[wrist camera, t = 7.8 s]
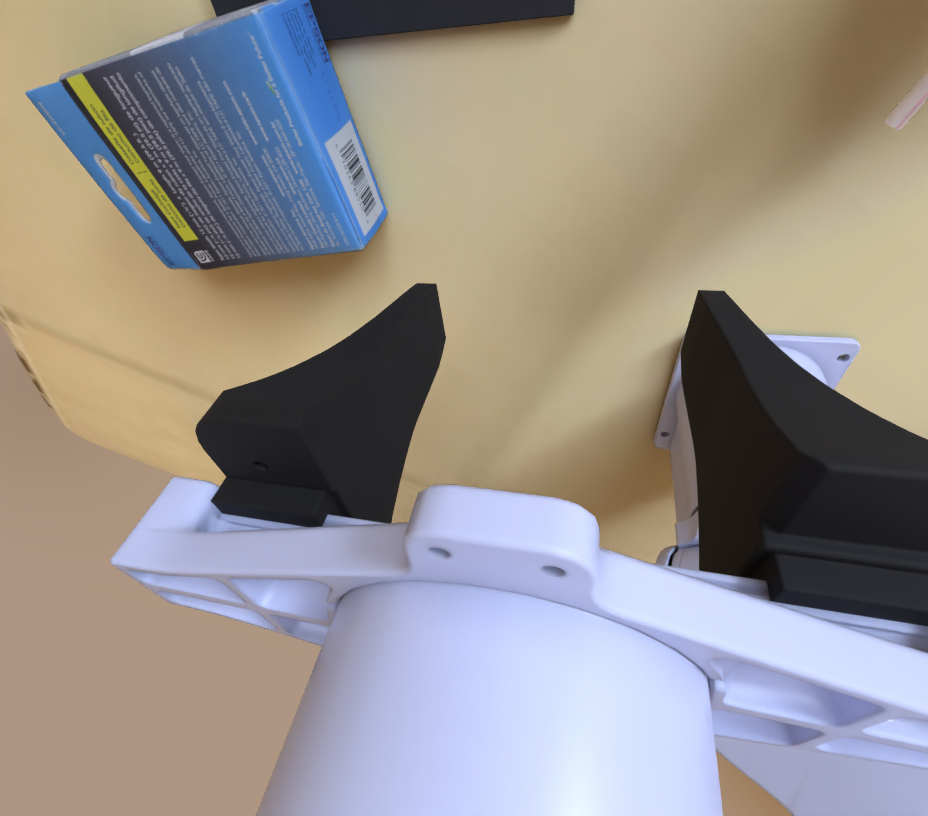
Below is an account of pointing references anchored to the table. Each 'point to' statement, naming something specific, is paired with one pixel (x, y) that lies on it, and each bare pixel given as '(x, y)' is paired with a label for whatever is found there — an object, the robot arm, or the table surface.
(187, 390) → the table surface
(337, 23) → the mat
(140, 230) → the label tape box
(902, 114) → the smoothie
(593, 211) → the table surface
